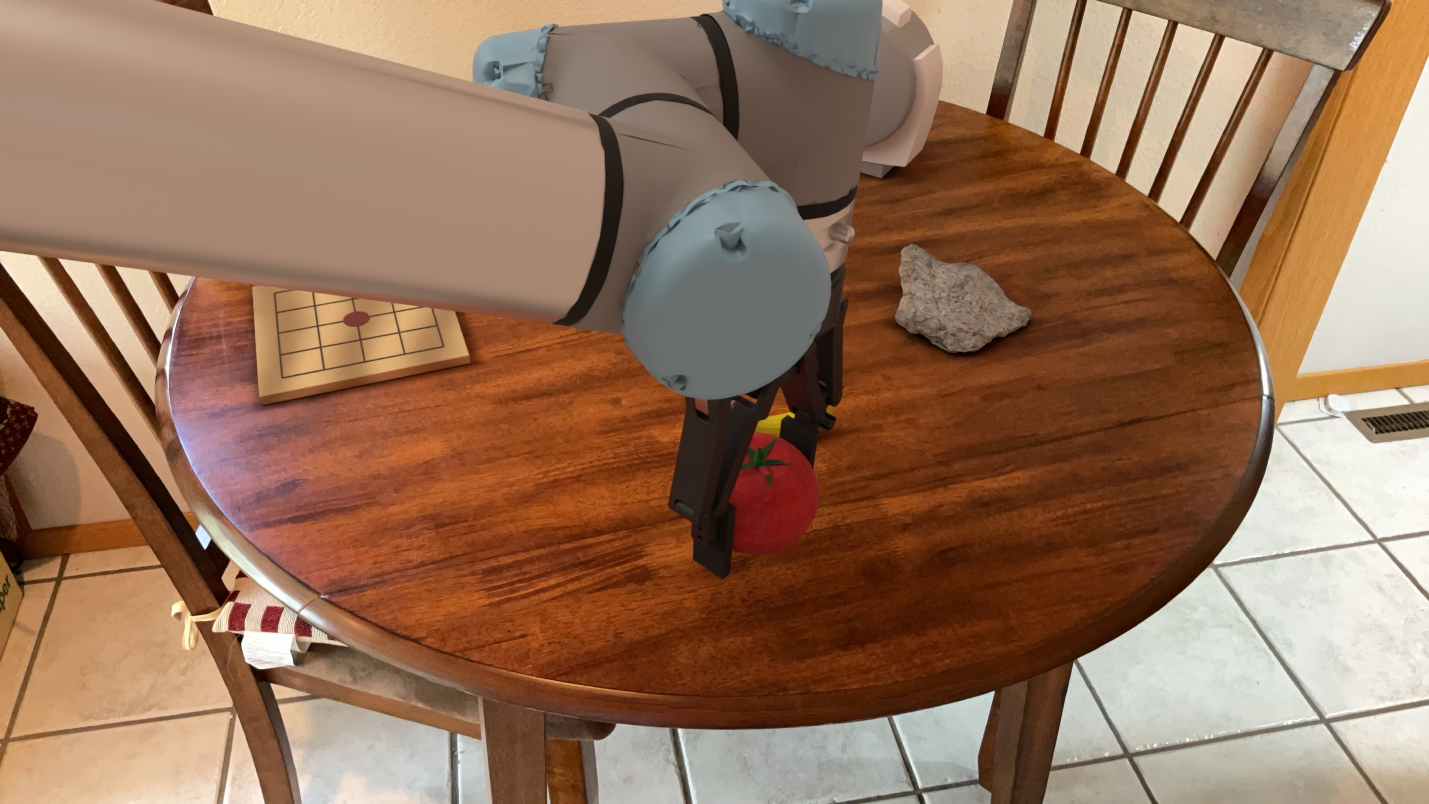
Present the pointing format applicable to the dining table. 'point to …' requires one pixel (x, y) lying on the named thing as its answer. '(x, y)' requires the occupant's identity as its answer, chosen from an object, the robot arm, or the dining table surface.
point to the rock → (954, 303)
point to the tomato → (773, 496)
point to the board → (345, 342)
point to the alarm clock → (902, 91)
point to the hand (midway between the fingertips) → (752, 527)
